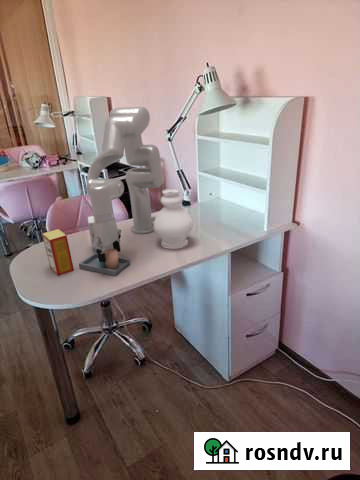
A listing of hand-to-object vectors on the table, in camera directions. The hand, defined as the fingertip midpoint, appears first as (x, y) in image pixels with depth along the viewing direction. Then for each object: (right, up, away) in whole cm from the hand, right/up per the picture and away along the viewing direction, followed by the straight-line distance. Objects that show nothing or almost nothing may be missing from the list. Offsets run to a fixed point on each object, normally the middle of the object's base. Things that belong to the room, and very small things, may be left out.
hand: (110, 256), depth 135 cm
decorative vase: (+26, +5, +21) cm, 33 cm away
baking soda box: (-21, -6, +4) cm, 22 cm away
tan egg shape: (+1, -4, +2) cm, 5 cm away
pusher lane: (-3, -4, +4) cm, 6 cm away
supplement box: (-7, +3, +20) cm, 22 cm away
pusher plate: (-2, -4, +3) cm, 6 cm away
